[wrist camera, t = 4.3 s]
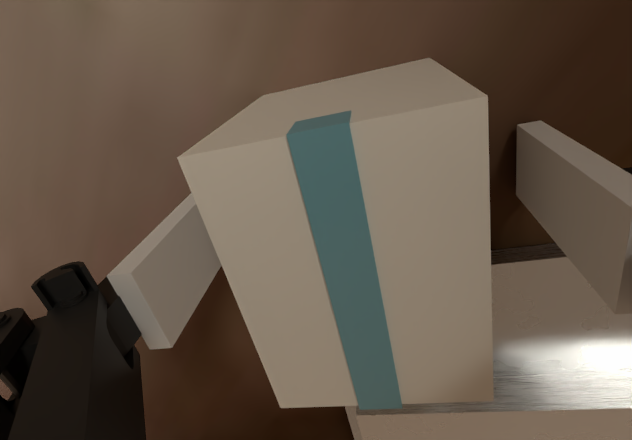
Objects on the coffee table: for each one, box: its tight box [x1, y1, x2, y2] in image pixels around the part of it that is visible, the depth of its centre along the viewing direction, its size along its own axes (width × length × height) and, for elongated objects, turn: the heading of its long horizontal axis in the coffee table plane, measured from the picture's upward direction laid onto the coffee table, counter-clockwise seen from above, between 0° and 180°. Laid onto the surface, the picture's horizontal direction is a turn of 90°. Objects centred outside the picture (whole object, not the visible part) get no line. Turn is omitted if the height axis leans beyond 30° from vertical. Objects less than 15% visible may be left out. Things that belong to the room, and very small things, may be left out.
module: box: [177, 58, 494, 410], centre depth 12 cm, size 8×6×7 cm
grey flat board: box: [345, 243, 632, 440], centre depth 17 cm, size 16×22×3 cm
